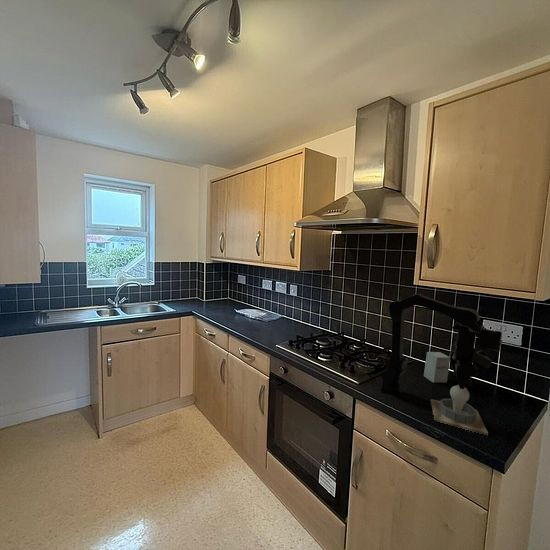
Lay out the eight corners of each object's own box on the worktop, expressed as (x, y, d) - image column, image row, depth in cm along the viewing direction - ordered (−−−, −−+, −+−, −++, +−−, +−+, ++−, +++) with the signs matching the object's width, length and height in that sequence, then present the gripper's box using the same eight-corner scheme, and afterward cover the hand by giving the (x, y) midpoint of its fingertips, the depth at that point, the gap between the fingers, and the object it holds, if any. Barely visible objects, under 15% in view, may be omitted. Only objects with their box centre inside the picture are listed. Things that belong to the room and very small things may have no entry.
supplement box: (433, 383, 140) (436, 357, 139) (423, 376, 147) (426, 351, 146) (447, 383, 141) (450, 357, 140) (436, 376, 148) (439, 351, 147)
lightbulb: (467, 420, 107) (471, 391, 106) (448, 415, 110) (452, 387, 109) (464, 412, 113) (469, 385, 112) (446, 407, 115) (450, 380, 114)
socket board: (434, 422, 107) (436, 411, 107) (430, 401, 122) (431, 392, 121) (487, 436, 101) (489, 424, 101) (476, 412, 116) (478, 402, 115)
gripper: (499, 356, 98) (492, 401, 99) (484, 340, 115) (478, 379, 116) (460, 349, 102) (453, 392, 104) (451, 335, 119) (446, 372, 121)
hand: (459, 383), depth 111 cm, fingers open, 9 cm apart
